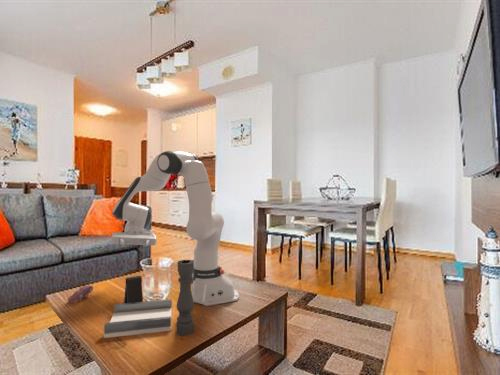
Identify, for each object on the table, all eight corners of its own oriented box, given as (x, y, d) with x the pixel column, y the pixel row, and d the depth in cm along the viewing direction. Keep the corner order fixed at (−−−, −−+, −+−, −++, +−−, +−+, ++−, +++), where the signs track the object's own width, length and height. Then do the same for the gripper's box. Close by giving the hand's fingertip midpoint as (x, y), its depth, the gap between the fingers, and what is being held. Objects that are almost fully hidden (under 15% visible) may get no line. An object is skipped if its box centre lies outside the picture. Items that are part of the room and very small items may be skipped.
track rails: (171, 306, 119) (171, 299, 119) (170, 326, 103) (170, 318, 103) (114, 311, 114) (114, 304, 114) (104, 333, 98) (104, 324, 97)
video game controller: (74, 307, 123) (80, 293, 122) (65, 301, 124) (72, 288, 123) (91, 298, 132) (97, 285, 132) (83, 293, 133) (89, 280, 132)
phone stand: (143, 306, 121) (143, 278, 120) (128, 310, 117) (128, 281, 117) (138, 299, 128) (138, 273, 128) (124, 302, 125) (124, 275, 125)
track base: (171, 307, 120) (171, 305, 120) (170, 330, 102) (170, 327, 102) (115, 312, 115) (115, 310, 115) (103, 338, 97) (103, 335, 97)
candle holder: (177, 337, 98) (178, 265, 97) (174, 328, 103) (175, 260, 103) (195, 333, 100) (196, 263, 100) (191, 325, 106) (192, 258, 105)
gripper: (112, 227, 139) (111, 237, 127) (155, 230, 148) (158, 239, 136) (110, 239, 140) (109, 250, 128) (153, 241, 149) (156, 251, 136)
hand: (135, 244), depth 132 cm, fingers open, 8 cm apart
